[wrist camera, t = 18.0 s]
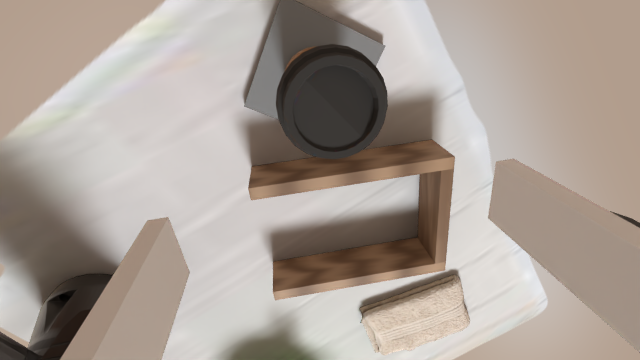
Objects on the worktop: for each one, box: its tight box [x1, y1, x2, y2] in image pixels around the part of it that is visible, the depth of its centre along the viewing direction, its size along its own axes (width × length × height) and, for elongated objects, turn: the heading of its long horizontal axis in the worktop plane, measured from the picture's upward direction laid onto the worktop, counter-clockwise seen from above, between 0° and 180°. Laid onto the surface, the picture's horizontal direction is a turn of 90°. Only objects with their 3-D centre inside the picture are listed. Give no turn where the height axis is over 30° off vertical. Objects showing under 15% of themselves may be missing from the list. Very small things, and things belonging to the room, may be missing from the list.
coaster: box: [244, 0, 385, 120], centre depth 36 cm, size 12×12×1 cm
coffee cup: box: [276, 44, 388, 159], centre depth 29 cm, size 8×8×15 cm
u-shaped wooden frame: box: [248, 140, 455, 300], centre depth 42 cm, size 24×17×6 cm
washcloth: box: [360, 275, 470, 355], centre depth 55 cm, size 12×18×3 cm, turn 111°
